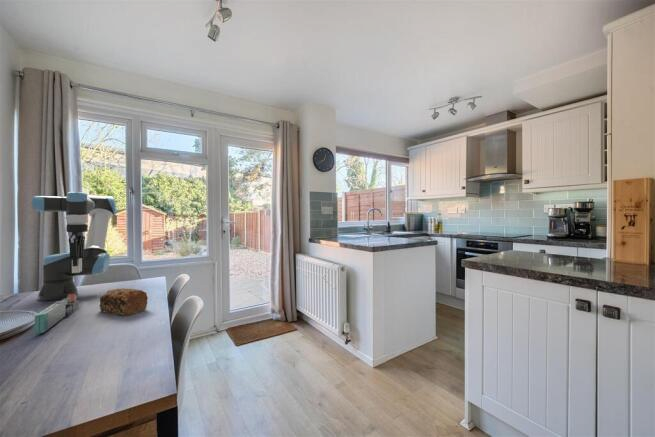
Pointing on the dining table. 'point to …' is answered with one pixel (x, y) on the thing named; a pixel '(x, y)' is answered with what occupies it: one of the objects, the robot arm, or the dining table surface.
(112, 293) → the bread
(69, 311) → the base
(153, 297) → the dining table surface
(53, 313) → the jaw
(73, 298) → the tab
